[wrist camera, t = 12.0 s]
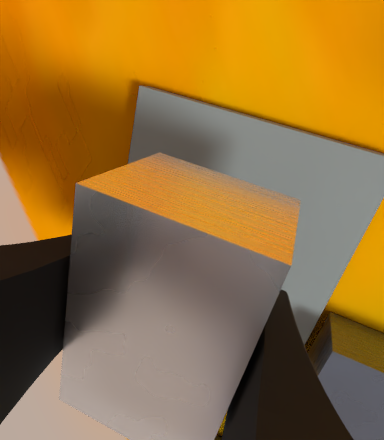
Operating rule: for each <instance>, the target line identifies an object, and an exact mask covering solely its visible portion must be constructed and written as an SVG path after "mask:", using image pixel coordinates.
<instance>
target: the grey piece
mask: <svg viewBox="0 0 384 440" xmlns="http://www.w3.org/2000/svg"><path fill="white" fill-rule="evenodd" d="M308 356H309V358H310V360H311V363H312V365H313V367H314V369H315V372H316V374H317V376H318V378H319V380H320V382H321V384H322V386H323V388H324V390H325V392H326V394H327V396H328V397H329V399H330V401H331V403H332V405H333V406H334V408H335V410H336V412H337V414H338V415H339V417H340V419H341V420H342V422H343V424H344V425H345V427H346V428H347V430H348V431H349V433H350V435H351V436H352V438H353V439H354V440H384V333H381V332H379V331H376V330H374V329H371V328H369V327H366V326H364V325H362V324H359V323H357V322H354V321H352V320H349V319H347V318H344V317H342V316H339V315H337V314H334V313H332V312H330V313H329V315H328V317H327V318H326V320H325V322H324V324H323V326H322V327H321V329H320V331H319V333H318V335H317V337H316V338H315V340H314V342H313V344H312V346H311V347H310V349H309V351H308Z"/></svg>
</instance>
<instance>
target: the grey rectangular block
mask: <svg viewBox="0 0 384 440" xmlns="http://www.w3.org/2000/svg"><path fill="white" fill-rule="evenodd" d="M300 202H301V200H300V199H297V198H294V197H291V196H288V195H285V194H282V193H279V192H276V191H273V190H270V189H267V188H264V187H261V186H258V185H255V184H252V183H249V182H246V181H243V180H240V179H237V178H234V177H231V176H228V175H225V174H222V173H219V172H216V171H213V170H210V169H207V168H204V167H201V166H198V165H195V164H192V163H189V162H186V161H184V160H181V159H178V158H175V157H172V156H169V155H166V154H163V153H157V154H154V155H151V156H149V157H146V158H143V159H140V160H138V161H135V162H132V163H129V164H127V165H124V166H121V167H118V168H116V169H113V170H110V171H107V172H105V173H102V174H99V175H96V176H94V177H91V178H88V179H85V180H83V181H80V182H77V183H76V188H75V201H74V214H73V227H72V240H71V253H70V266H69V279H68V292H67V305H66V318H65V331H64V344H63V357H62V370H61V383H60V396H59V399H60V400H61V401H63V402H65V403H67V404H68V405H70V406H72V407H74V408H75V409H77V410H79V411H81V412H82V413H84V414H86V415H88V416H89V417H92V418H93V419H95V420H96V421H98V422H100V423H102V424H104V425H105V426H107V427H109V428H110V429H112V430H114V431H116V432H117V433H119V434H121V435H123V436H124V437H126V438H128V439H130V440H214V439H215V437H216V434H217V432H218V430H219V428H220V425H221V423H222V421H223V419H224V416H225V414H226V412H227V410H228V407H229V405H230V403H231V401H232V398H233V396H234V394H235V392H236V389H237V387H238V385H239V383H240V380H241V378H242V376H243V374H244V371H245V369H246V367H247V365H248V362H249V360H250V358H251V356H252V353H253V351H254V349H255V347H256V344H257V342H258V340H259V338H260V335H261V333H262V331H263V328H264V326H265V324H266V322H267V319H268V317H269V315H270V313H271V310H272V308H273V306H274V304H275V301H276V299H277V297H278V295H279V292H280V290H281V288H282V286H283V283H284V281H285V279H286V277H287V274H288V272H289V270H290V268H291V265H292V258H293V251H294V244H295V237H296V230H297V223H298V216H299V209H300Z"/></svg>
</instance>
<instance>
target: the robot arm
mask: <svg viewBox="0 0 384 440" xmlns="http://www.w3.org/2000/svg"><path fill="white" fill-rule="evenodd" d="M71 240H72V235H67V236H62V237H57V238H51V239H45V240H40V241H34V242H27V243H20V244H12V245H1V246H0V424H1V423H2V421H3V420H4V419H5V417H6V416H7V415H8V413H9V412H10V411H11V410H12V409H13V407H14V406H15V405H16V404H17V402H18V401H19V400H20V399H21V397H22V396H23V395H24V393H25V392H26V391H27V390H28V388H29V387H30V386H31V385H32V384H33V383H34V381H35V380H36V379H37V378H38V377H39V375H40V374H41V373H42V372H43V371H44V369H45V368H46V367H47V366H48V365H49V363H50V362H51V361H52V360H53V359H54V357H56V356H57V355H58V353H59V352H60V351H61V350H62V349H63V344H64V331H65V318H66V305H67V292H68V279H69V266H70V253H71ZM222 440H354V439H353V438H352V436H351V435H350V433H349V431H348V430H347V428H346V427H345V425H344V424H343V422H342V420H341V419H340V417H339V415H338V414H337V412H336V410H335V408H334V406H333V405H332V403H331V401H330V399H329V397H328V396H327V394H326V392H325V390H324V388H323V386H322V384H321V382H320V380H319V378H318V376H317V374H316V372H315V369H314V367H313V365H312V363H311V360H310V358H309V356H308V353H307V351H306V348H305V346H304V343H303V340H302V338H301V335H300V332H299V330H298V327H297V324H296V321H295V317H294V314H293V311H292V308H291V304H290V300H289V296H288V294H287V292H286V291H284V290H280V292H279V295H278V297H277V299H276V301H275V304H274V306H273V308H272V310H271V313H270V315H269V317H268V319H267V322H266V324H265V326H264V328H263V331H262V333H261V335H260V338H259V340H258V342H257V344H256V347H255V349H254V351H253V353H252V356H251V358H250V360H249V362H248V365H247V367H246V369H245V371H244V374H243V376H242V378H241V380H240V383H239V385H238V387H237V389H236V392H235V394H234V396H233V398H232V401H231V403H230V405H229V407H228V411H227V416H226V421H225V426H224V431H223V435H222Z"/></svg>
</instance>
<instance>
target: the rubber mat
mask: <svg viewBox="0 0 384 440" xmlns="http://www.w3.org/2000/svg"><path fill="white" fill-rule="evenodd" d="M157 153H163V154H166V155H169V156H172V157H175V158H178V159H181V160H184V161H186V162H189V163H192V164H195V165H198V166H201V167H204V168H207V169H210V170H213V171H216V172H219V173H222V174H225V175H228V176H231V177H234V178H237V179H240V180H243V181H246V182H249V183H252V184H255V185H258V186H261V187H264V188H267V189H270V190H273V191H276V192H279V193H282V194H285V195H288V196H291V197H294V198H297V199H300V200H301V202H300V209H299V216H298V223H297V230H296V237H295V244H294V251H293V258H292V265H291V268H290V270H289V272H288V274H287V277H286V279H285V281H284V283H283V286H282V288H281V290H284V291H286V292H287V294H288V296H289V300H290V304H291V308H292V311H293V314H294V317H295V321H296V324H297V327H298V330H299V332H300V335H301V338H302V340H303V343H304V345H305V343H306V341H307V340H308V338H309V336H310V334H311V332H312V330H313V328H314V327H315V325H316V323H317V321H318V319H319V317H320V315H321V313H322V312H323V310H324V308H325V306H326V304H327V302H328V300H329V299H330V297H331V295H332V293H333V291H334V289H335V287H336V285H337V284H338V282H339V280H340V278H341V276H342V274H343V272H344V271H345V269H346V267H347V265H348V263H349V261H350V259H351V257H352V256H353V254H354V252H355V250H356V248H357V246H358V244H359V243H360V241H361V239H362V237H363V235H364V233H365V231H366V229H367V228H368V226H369V224H370V222H371V220H372V218H373V216H374V215H375V213H376V211H377V209H378V207H379V205H380V203H381V201H382V200H383V198H384V154H383V153H380V152H376V151H373V150H369V149H366V148H362V147H359V146H355V145H352V144H348V143H345V142H341V141H338V140H334V139H331V138H327V137H324V136H320V135H317V134H313V133H310V132H306V131H303V130H299V129H296V128H293V127H289V126H286V125H282V124H279V123H275V122H272V121H268V120H265V119H261V118H258V117H254V116H251V115H247V114H244V113H240V112H237V111H233V110H230V109H226V108H223V107H219V106H216V105H212V104H209V103H205V102H202V101H198V100H195V99H191V98H188V97H184V96H181V95H177V94H174V93H170V92H167V91H163V90H160V89H157V88H153V87H150V86H139V92H138V99H137V105H136V112H135V119H134V125H133V132H132V139H131V146H130V152H129V159H128V164H129V163H132V162H135V161H138V160H140V159H143V158H146V157H149V156H151V155H154V154H157Z"/></svg>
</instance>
